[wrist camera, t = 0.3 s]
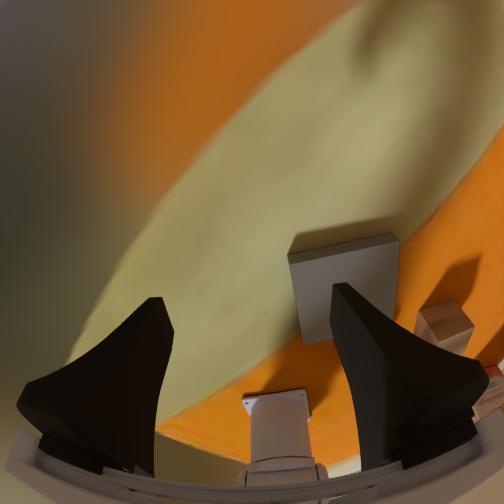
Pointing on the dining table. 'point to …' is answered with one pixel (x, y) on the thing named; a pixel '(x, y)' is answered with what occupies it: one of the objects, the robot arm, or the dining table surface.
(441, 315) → the walnut cube
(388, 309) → the slate coaster
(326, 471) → the robot arm
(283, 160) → the dining table surface
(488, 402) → the cracker box
